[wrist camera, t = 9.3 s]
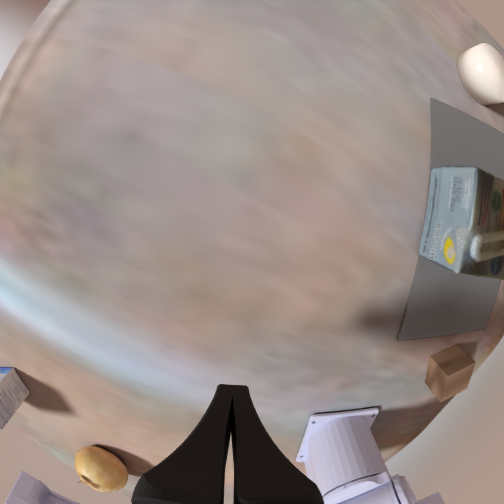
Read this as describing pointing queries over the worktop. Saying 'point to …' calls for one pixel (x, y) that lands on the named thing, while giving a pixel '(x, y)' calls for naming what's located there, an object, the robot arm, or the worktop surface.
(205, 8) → the worktop surface
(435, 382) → the walnut block
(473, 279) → the mat
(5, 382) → the medicine box
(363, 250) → the worktop surface
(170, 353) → the worktop surface
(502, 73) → the cream egg shape
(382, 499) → the robot arm
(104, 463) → the onion
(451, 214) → the beverage carton
